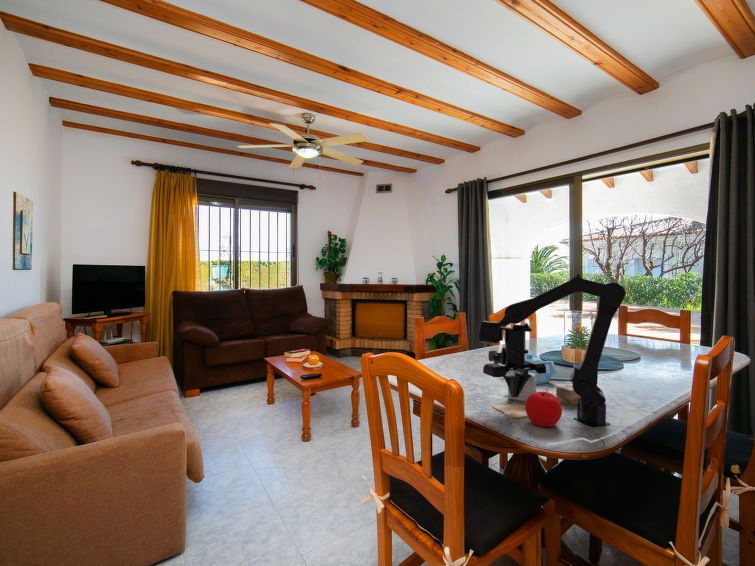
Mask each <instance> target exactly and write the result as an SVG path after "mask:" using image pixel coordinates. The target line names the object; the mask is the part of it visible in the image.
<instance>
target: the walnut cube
mask: <svg viewBox="0 0 755 566" xmlns="http://www.w3.org/2000/svg"><path fill="white" fill-rule="evenodd" d="M555 388H556V389H555V393H556V394H555V396H556V397H557V399H558V400H559V402H560V404H561V405H565V406H567V407H571V408H572V407H574V406H577V403H578V398H581V397H580V396H579V395H578V394H576V393H575V391H574V390H573V385H571V384H570V385H569V384H562V385H557V386H556V387H555Z"/></svg>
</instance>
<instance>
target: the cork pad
mask: <svg viewBox="0 0 755 566" xmlns="http://www.w3.org/2000/svg"><path fill="white" fill-rule="evenodd" d="M492 408H493V409H495V410H497V411H499V412H500V413H502V414H505V415H506V416H507V417H509V418H511V419H513V420H515V419H523V418H528V416H527V413H526V410H525V405H522V404H520V403H518V402H515V403H507V404H498V405H492Z"/></svg>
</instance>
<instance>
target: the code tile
mask: <svg viewBox="0 0 755 566" xmlns="http://www.w3.org/2000/svg"><path fill="white" fill-rule="evenodd" d="M503 397H505V398H507V399H508V394H506V395H505V394H504V395H503ZM510 400H511V401H513V402H515V403H520V404H522V405H525V403H526V402H525V401H519V400H513V399H510Z"/></svg>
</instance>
